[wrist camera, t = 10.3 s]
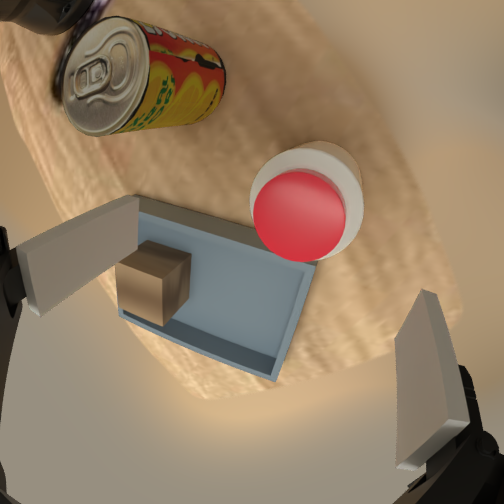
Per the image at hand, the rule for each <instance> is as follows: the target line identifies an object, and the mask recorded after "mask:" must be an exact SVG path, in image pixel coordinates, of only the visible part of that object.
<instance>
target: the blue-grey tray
mask: <svg viewBox="0 0 504 504" xmlns="http://www.w3.org/2000/svg"><path fill="white" fill-rule="evenodd" d="M133 197H137V198H139V217H138V245H140V244H141V243H143V242H144V241H146V240H150V241H153V242H156V243H159V244H162V245H165V246H168V247H171V248H175V249H178V250H181V251H184V252H187V253H190V254H192V257H191V273H190V291H189V299H188V300H187V301H186V302H185V303H184V304H183V306H182V307H181V308H180V309H179V310H178V311H177V312H176V313H175V314H174V315H173V316H172V317H171V319H170V320H169V321H168V322H167V323H166V324H165V325H164V326H163V327H162V326H160V325H157V324H155V323H153V322H150V321H148V320H146V319H143V318H141V317H139V316H137V315H135V314H132V313H130V312H128V311H126V310H124V309H121V308H119V305H118V311H119V316H120V317H122V318H124V319H126V320H128V321H130V322H132V323H134V324H136V325H138V326H140V327H142V328H144V329H146V330H148V331H150V332H152V333H154V334H157V335H159V336H161V337H163V338H165V339H167V340H170V341H172V342H174V343H176V344H179V345H181V346H183V347H186V348H188V349H190V350H193V351H195V352H197V353H200V354H202V355H204V356H207V357H209V358H212V359H214V360H217V361H219V362H222V363H224V364H227V365H230V366H232V367H235V368H237V369H240V370H243V371H245V372H248V373H251V374H254V375H256V376H259V377H262V378H265V379H268V380H271V381H273V382H276V380H277V377H278V375H279V372H280V369H281V367H282V364H283V361H284V359H285V356H286V353H287V351H288V348H289V345H290V342H291V339H292V337H293V334H294V331H295V328H296V325H297V322H298V320H299V317H300V314H301V311H302V308H303V305H304V302H305V299H306V296H307V293H308V290H309V287H310V284H311V281H312V278H313V275H314V271H315V268H316V265H317V262H318V260H315V261H309V262H295V261H290V260H287V259H284V258H282V257H280V256H278V255H276V254H275V253H273V252H272V251H270V250H269V249H268V248H267V247H266V246H265V245H264V243H263V242H262V240H261V239H260V238H259V236H258V234H257V231H256V229H253V228H249V227H246V226H243V225H239V224H236V223H233V222H229V221H226V220H223V219H219V218H216V217H212V216H209V215H206V214H202V213H199V212H195V211H192V210H188V209H185V208H181V207H178V206H174V205H171V204H167V203H164V202H160V201H157V200H153V199H150V198H146V197H143V196H139V195H133ZM116 288H117V286H116ZM117 300H118V296H117Z"/></svg>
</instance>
